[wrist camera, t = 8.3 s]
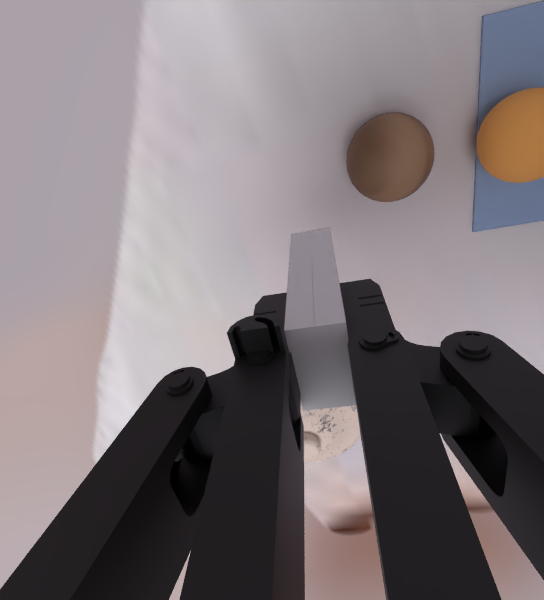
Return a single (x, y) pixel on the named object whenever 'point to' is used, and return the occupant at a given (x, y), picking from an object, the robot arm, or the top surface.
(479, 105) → the mark
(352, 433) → the teacup with lid
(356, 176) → the walnut ball
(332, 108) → the top surface
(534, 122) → the orange ball
